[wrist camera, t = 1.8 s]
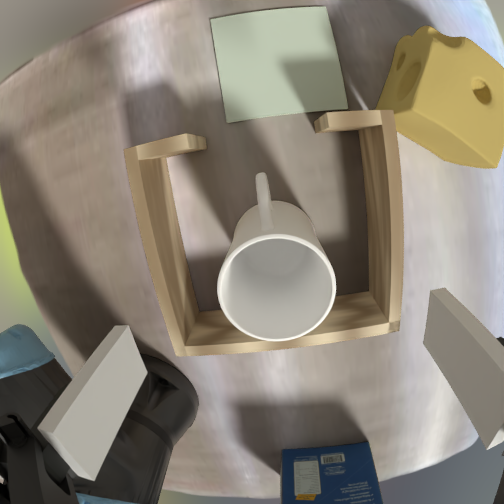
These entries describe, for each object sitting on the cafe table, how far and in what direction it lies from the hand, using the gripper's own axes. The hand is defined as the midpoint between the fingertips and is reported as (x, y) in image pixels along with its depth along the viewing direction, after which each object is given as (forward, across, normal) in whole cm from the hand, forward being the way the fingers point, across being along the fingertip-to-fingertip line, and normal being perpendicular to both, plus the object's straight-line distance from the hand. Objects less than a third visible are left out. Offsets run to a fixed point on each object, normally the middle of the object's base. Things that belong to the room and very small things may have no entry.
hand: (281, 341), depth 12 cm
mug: (+20, 0, 0) cm, 20 cm away
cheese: (+20, +18, +12) cm, 30 cm away
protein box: (+20, +4, -43) cm, 48 cm away
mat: (+20, +3, +17) cm, 26 cm away
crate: (+20, 0, 0) cm, 20 cm away
